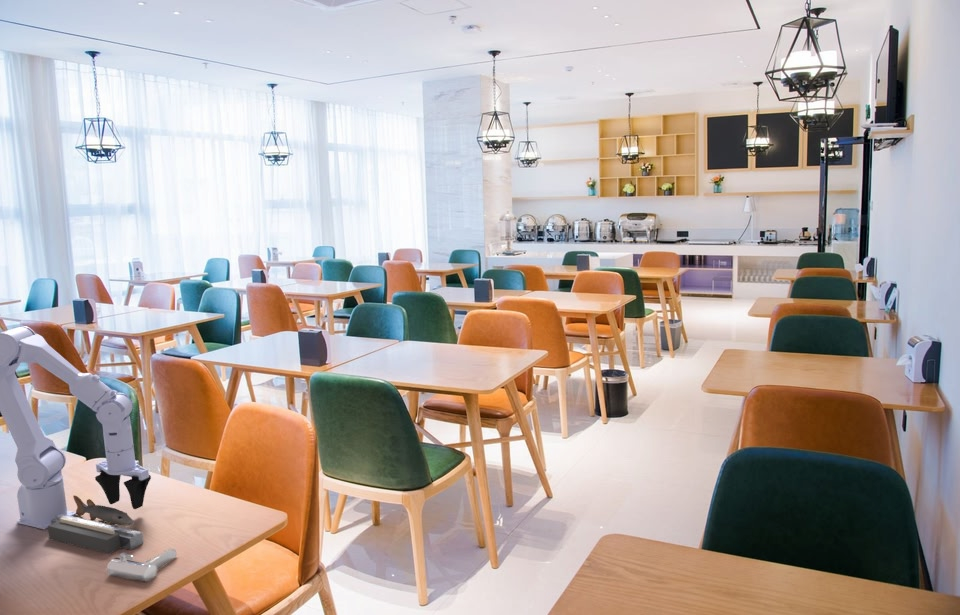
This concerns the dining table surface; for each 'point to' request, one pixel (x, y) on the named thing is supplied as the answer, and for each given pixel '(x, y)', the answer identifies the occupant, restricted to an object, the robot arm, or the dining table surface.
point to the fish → (102, 513)
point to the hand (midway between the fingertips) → (126, 504)
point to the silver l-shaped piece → (139, 566)
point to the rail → (127, 536)
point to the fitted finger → (84, 535)
